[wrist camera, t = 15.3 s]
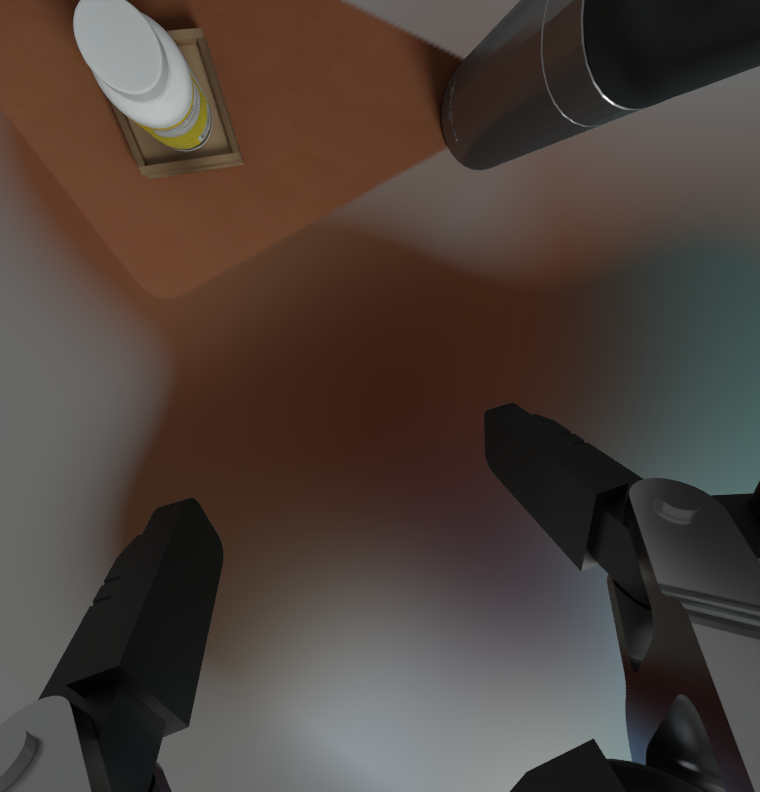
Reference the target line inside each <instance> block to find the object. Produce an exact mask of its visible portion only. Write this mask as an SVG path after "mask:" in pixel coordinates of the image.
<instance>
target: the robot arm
mask: <svg viewBox="0 0 760 792" xmlns="http://www.w3.org/2000/svg"><path fill="white" fill-rule="evenodd" d="M758 66H760V0H520V1H519V2H518V3H517V4H516V6H515V7H514V8H513V9H512V10H511V11H510V12H509V13H508V14H507V15H506V16H505V17H504V18H503V19H502V20H501V22H500V23H499V24H498V25H497V26H496V27H495V28H494V29H493V30H492V31H491V32H490V33H489V34H488V35H487V36H486V38H485V39H484V40H482V41H481V43H480V44H479V45H478V46H477V47H476V48H475V49H474V50H473V51H472V52H471V53H470V54H469V55H468V56H467V57H466V59H465V60H464V61H463V62H462V63H461V64H460V65H459V66H458V68H457V69H456V70H455V71H454V73H453V75H452V76H451V78H450V80H449V82H448V84H447V87H446V90H445V93H444V97H443V103H442V116H441V122H442V129H443V134H444V137H445V141H446V144H447V146H448V148H449V150H450V152H451V153H452V155H453V156H454V157H455V158H456V160H457V161H458V162H460V163H461V164H462V165H464V166H465V167H468V168H470V169H473V170H486V169H490V168H493V167H495V166H498V165H500V164H503V163H505V162H508V161H511V160H514V159H516V158H519V157H521V156H524V155H527V154H529V153H532V152H534V151H537V150H539V149H542V148H545V147H547V146H550V145H552V144H555V143H557V142H560V141H563V140H565V139H568V138H570V137H573V136H575V135H578V134H580V133H583V132H586V131H588V130H591V129H594V128H596V127H599V126H601V125H604V124H607V123H608V122H611V121H614V120H616V119H619V118H621V117H624V116H627V115H629V114H631V113H634V112H637V111H639V110H642V109H644V108H647V107H649V106H652V105H655V104H658V103H660V102H663V101H665V100H667V99H670V98H672V97H675V96H678V95H681V94H684V93H687V92H690V91H693V90H696V89H698V88H701V87H704V86H707V85H709V84H712V83H714V82H717V81H720V80H723V79H725V78H728V77H731V76H733V75H736V74H738V73H741V72H744V71H746V70H749V69H752V68H755V67H758ZM484 435H485V457H486V460H487V463H488V466H489V468H490V469H491V471H492V472H493V474H494V475H495V476H496V477H497V478H498V479H499V480H500V481H501V483H502V484H503V485H504V486H505V487H506V488H507V489H508V490H509V492H510V493H511V494H512V495H513V496H514V497H515V498H516V499H517V500H518V502H519V503H520V504H521V505H522V506H523V507H524V508H525V509H526V510H527V512H528V513H529V514H530V515H531V516H532V517H533V518H534V519H535V520H536V522H537V523H538V524H539V525H540V526H541V527H542V528H543V529H544V530H545V531H546V533H547V534H548V535H549V536H550V537H551V538H552V539H553V540H554V542H555V543H556V544H557V545H558V546H559V547H560V548H561V549H562V551H563V552H564V553H565V554H566V555H567V556H568V557H569V558H570V559H571V561H572V562H573V563H574V564H575V565H576V566H577V567H578V568H579V569H580V571H583V570H586V569H588V568H591V567H594V566H596V565H598V564H599V565H600V566H601V567H602V568H603V569H604V570H605V571H606V572H607V573H608V575H607V587H608V592H609V597H610V602H611V607H612V613H613V617H614V623H615V628H616V633H617V638H618V643H619V649H620V654H621V659H622V664H623V669H624V675H625V683H626V699H625V715H626V726H627V734H628V740H629V746H630V752H631V758H632V762H631V761H624V760H617V759H606V758H605V756H604V755H603V753H602V751H601V750H600V748H599V746H598V745H597V743H596V742H595V740H594V739H592V740H590V741H588V742H586V743H584V744H582V745H580V746H578V747H576V748H574V749H572V750H570V751H568V752H566V753H564V754H562V755H560V756H558V757H556V758H554V759H552V760H550V761H548V762H546V763H544V764H542V765H540V766H538V767H536V768H534V769H532V770H530V771H528V772H526V773H525V774H524V776H523V777H522V778H521V779H520V780H519V782H518V783H517V784H516V785H515V786H514V787H513V789H512V790H511V791H510V792H760V481H759V483H758V485H757V487H756V489H755V491H754V493H753V494H733V495H713V496H710V495H708V494H707V493H705V492H704V491H702V490H700V489H698V488H696V487H693V486H691V485H688V484H685V483H682V482H679V481H674V480H670V479H662V478H649V479H643V478H641V477H639V476H638V475H636V474H635V473H633V472H632V471H630V470H629V469H627V468H625V467H624V466H623V465H621V464H620V463H618V462H617V461H615V460H614V459H612V458H611V457H609V456H608V455H606V454H604V453H603V452H601V451H600V450H598V449H597V448H595V447H594V446H592V445H591V444H589V443H588V442H587V443H585V442H584V440H583V439H582V438H580V437H578V436H577V435H576V434H571V432H570V431H569V430H568V429H566V428H565V427H563V426H562V425H560V424H559V423H557V422H556V421H554V420H551V419H548V418H545V417H542V416H539V415H536V414H533V415H531V414H529V413H528V412H526V411H525V410H524V409H522V408H521V407H519V406H518V405H516V404H514V403H509V404H505V405H502V406H499V407H496V408H492V409H489V410H487V411H486V412H485V415H484ZM222 565H223V547H222V543H221V540H220V537H219V536H218V534H217V532H216V531H215V529H214V527H213V526H212V524H211V522H210V521H209V519H208V518H207V516H206V514H205V512H204V511H203V509H202V507H201V506H200V504H199V503H198V501H196V500H195V499H194V498H188V499H185V500H182V501H178V502H175V503H172V504H169V505H165V506H161V507H158V508H157V509H156V510H155V511H154V513H153V514H152V516H151V518H150V520H149V522H148V524H147V526H146V528H145V530H144V532H143V534H142V535H138V536H136V537H135V539H134V540H133V541H132V542H131V543H130V544H129V545H128V546H127V547H126V549H125V550H124V551H123V552H122V553H121V554H120V555H119V556H118V557H117V559H116V560H115V562H114V564H113V566H112V568H111V570H110V571H109V573H108V575H107V577H106V578H105V580H104V582H105V584H104V585H103V586H101V588H100V589H99V591H98V593H97V595H96V597H95V598H94V600H93V606H91V607H89V609H88V611H87V613H86V615H85V616H84V618H83V620H82V622H81V624H80V625H79V627H78V629H77V631H76V633H75V635H74V636H73V638H72V640H71V642H70V644H69V645H68V647H67V649H66V651H65V653H64V654H63V656H62V658H61V660H60V662H59V663H58V665H57V667H56V669H55V671H54V672H53V674H52V676H51V678H50V680H49V681H48V683H47V685H46V687H45V689H44V691H43V692H42V694H41V696H40V697H39V699H38V700H37V701H35V702H33V703H31V704H30V705H28V706H26V707H24V708H23V709H21V710H20V711H18V712H16V713H15V714H14V715H12V716H11V717H10V718H8V719H7V720H6V721H4V722H3V723H2V724H1V725H0V792H172V791H171V789H170V786H169V784H168V781H167V779H166V776H165V774H164V771H163V769H162V767H161V766H160V764H159V763H158V762H157V757H158V753H159V749H160V745H161V741H162V738H163V737H165V736H167V735H170V734H172V733H175V732H177V731H180V730H182V729H185V728H187V727H189V723H190V718H191V713H192V708H193V704H194V699H195V694H196V689H197V685H198V680H199V675H200V670H201V666H202V661H203V656H204V651H205V647H206V642H207V636H208V632H209V627H210V623H211V618H212V612H213V608H214V603H215V598H216V594H217V589H218V584H219V579H220V575H221V570H222Z"/></svg>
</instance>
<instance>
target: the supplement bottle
mask: <svg viewBox="0 0 760 792" xmlns="http://www.w3.org/2000/svg"><path fill="white" fill-rule="evenodd" d="M73 27H74V34H75V38H76V42H77V45H78V47H79V50H80V52H81V54H82V56H83V57H84V59H85V61H86V62H87V64H88V65H89V67H90V68H91V69H92V72H93V74H94V76H95V79H96V80H97V82H98V84H99V86H100V87H101V89H102V90H103V92H104V93H105V95H106V96H107V97H108V99H109V100H110V101H111V102H112V103H113V104H114V105H115V106H116V107H117V108H118V109H119V110H120V111H121V112H122V113H124V114H125V115H126V116H127V117H129V118H130V119H131V120H133V121H134V122H135V123H136V124H138V125H139V126H140V127H141V128H143V129H144V130H145V131H147V132H148V133H149V134H151V135H152V136H153V137H154V138H156V139H157V140H158V141H160V142H161V143H163V144H164V145H166V146H168V147H170V148H173V149H175V150H179V151H192V150H195V149H198V148H200V147H201V146H203V145H204V144H205V143H206V141H207V140H208V138H209V136H210V134H211V130H212V120H213V119H212V112H211V108H210V104H209V101H208V99H207V97H206V95H205V93H204V91H203V89H202V88H201V86H200V84H199V82H198V81H197V79H196V77H195V75H194V74H193V72H192V70H191V68H190V67H189V65H188V63H187V61H186V60H185V58H184V56H183V55H182V53H181V51H180V50H179V48H178V46H177V45H176V43H175V42H174V41H173V39H172V38H171V37H170V35H169V34H168V33H167V32H166V31H165V30H164V29H163V28H162V27H161V26H160V25H159V24H158V23H157V22H155V21H154V20H153V19H151V18H150V17H148V16H147V15H145V14H143V13H141V12H139V11H138V10H137V9H136V8H135V7H134V6H133V5H132V4H130V3H129V2H128V1H126V0H80V1H79V3H78V5H77V7H76V9H75V12H74V19H73Z"/></svg>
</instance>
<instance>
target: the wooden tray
mask: <svg viewBox="0 0 760 792" xmlns="http://www.w3.org/2000/svg"><path fill="white" fill-rule="evenodd" d="M166 32H167V33H168V34H169V35H170V37H171V38H172V39H173V41H174V42H175V43H176V45H177V46H178V48H179V50H180V51H181V53H182V55H183V56H184V58H185V60H186V61H187V63H188V65H189V67H190V68H191V70H192V72H193V74H194V75H195V77H196V79H197V81H198V82H199V84H200V86H201V88H202V89H203V91H204V93H205V95H206V97H207V99H208V101H209V104H210V108H211V112H212V119H213V120H212V130H211V134H210V136H209V138H208V140H207V141H206V143H205V144H204V145H203V146H201V147H200V148H198V149H195V150H192V151H179V150H175V149H173V148H170V147H168V146H166V145H164V144H163V143H161V142H160V141H158V140H157V139H156V138H154V137H153V136H152V135H151V134H149V133H148V132H147V131H145V130H144V129H143V128H141V127H140V126H139V125H138V124H136V123H135V122H134V121H133V120H131V119H130V118H129V117H127V116H126V115H125V114H124V113H122V112H121V111H120V110H119V109H118V108H117V107H116V106H115V105H114V104H113V103H112V102H111V101H110V102H111V105H112V107H113V109H114V112H115V114H116V116H117V119H118V121H119V123H120V125H121V128H122V130H123V132H124V135H125V137H126V139H127V142H128V144H129V146H130V149H131V151H132V153H133V156H134V158H135V160H136V162H137V165H138V167H139V169H140V172H141V174H142V175H144V176H146V177H148V178H150V179H154V178H161V177H167V176H174V175H180V174H187V173H193V172H200V171H206V170H213V169H219V168H226V167H232V166H239V165H244V162H243V159H242V156H241V152H240V149H239V146H238V142H237V139H236V136H235V133H234V129H233V126H232V123H231V119H230V116H229V113H228V110H227V106H226V103H225V100H224V96H223V93H222V90H221V87H220V83H219V80H218V77H217V73H216V70H215V67H214V63H213V60H212V57H211V54H210V50H209V47H208V44H207V41H206V39H205V36H204V34H203V31H202V29H201V28H193V29H182V30H171V31H166Z"/></svg>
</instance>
